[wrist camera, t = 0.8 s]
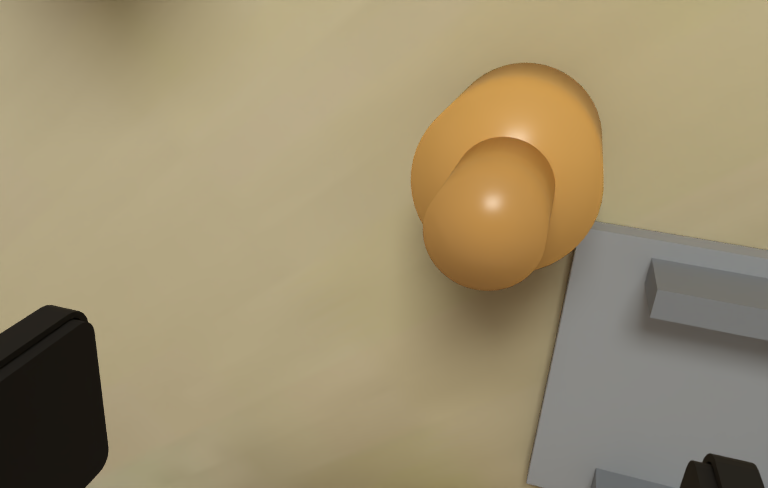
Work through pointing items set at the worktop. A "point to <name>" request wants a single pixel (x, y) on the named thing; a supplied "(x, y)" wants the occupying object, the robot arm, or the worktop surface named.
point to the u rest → (655, 362)
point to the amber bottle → (509, 176)
